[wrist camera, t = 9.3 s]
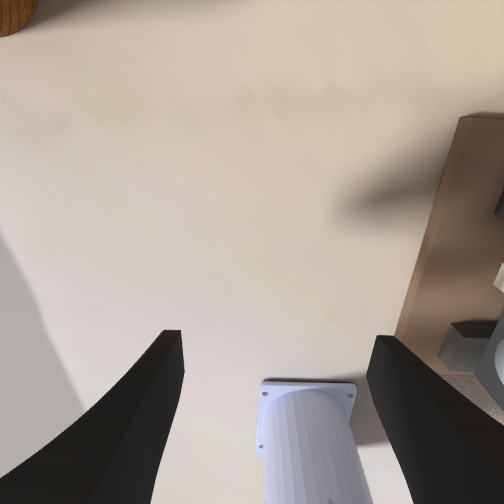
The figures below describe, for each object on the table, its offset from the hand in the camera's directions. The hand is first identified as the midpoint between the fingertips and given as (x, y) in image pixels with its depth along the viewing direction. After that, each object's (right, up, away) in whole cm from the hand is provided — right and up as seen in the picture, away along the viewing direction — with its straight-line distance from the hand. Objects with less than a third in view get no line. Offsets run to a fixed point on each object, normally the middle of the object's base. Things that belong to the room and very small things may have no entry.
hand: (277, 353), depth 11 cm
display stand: (+16, +3, +9) cm, 19 cm away
